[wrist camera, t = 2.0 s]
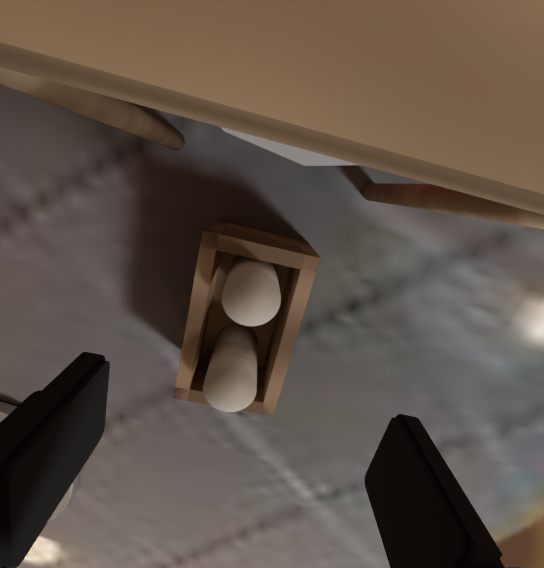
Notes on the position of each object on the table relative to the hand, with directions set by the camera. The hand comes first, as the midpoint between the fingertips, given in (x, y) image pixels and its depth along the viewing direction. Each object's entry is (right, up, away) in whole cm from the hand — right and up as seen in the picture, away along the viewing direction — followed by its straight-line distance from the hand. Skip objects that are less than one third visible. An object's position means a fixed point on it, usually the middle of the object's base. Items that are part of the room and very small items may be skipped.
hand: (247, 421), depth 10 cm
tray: (-1, +3, +11) cm, 12 cm away
